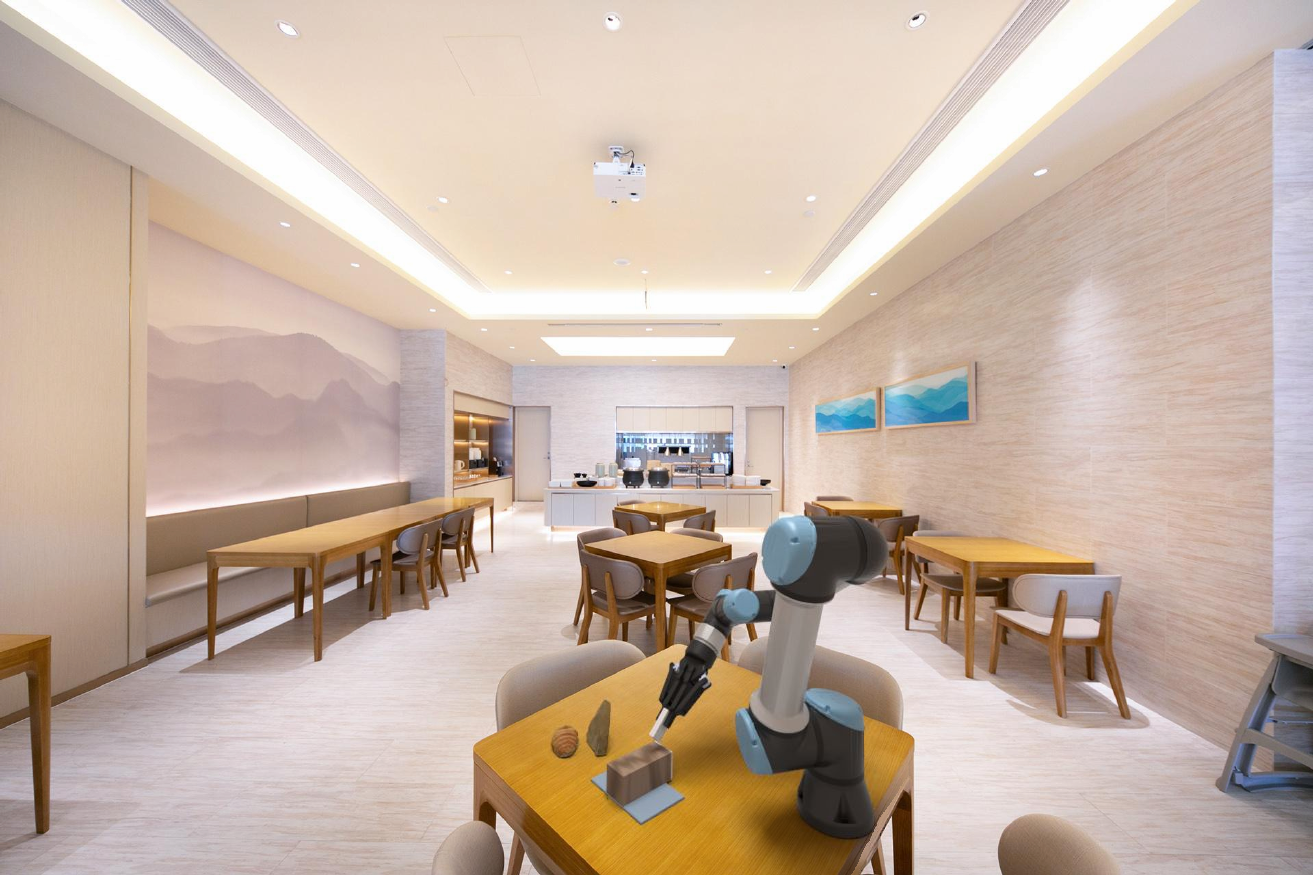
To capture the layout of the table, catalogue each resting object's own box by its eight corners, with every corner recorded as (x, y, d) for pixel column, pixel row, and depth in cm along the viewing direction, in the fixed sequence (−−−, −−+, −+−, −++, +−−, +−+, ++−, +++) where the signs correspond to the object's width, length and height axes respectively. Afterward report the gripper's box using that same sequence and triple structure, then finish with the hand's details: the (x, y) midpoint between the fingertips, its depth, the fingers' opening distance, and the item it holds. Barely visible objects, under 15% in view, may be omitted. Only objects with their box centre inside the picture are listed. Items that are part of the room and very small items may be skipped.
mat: (684, 798, 106) (684, 796, 106) (641, 824, 98) (641, 822, 98) (632, 759, 119) (632, 758, 119) (590, 780, 111) (590, 778, 111)
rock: (615, 750, 119) (626, 723, 129) (594, 721, 120) (607, 696, 130) (582, 770, 122) (596, 743, 131) (562, 741, 122) (577, 716, 132)
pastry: (579, 757, 120) (580, 741, 121) (551, 761, 119) (551, 745, 119) (577, 736, 130) (577, 722, 130) (551, 740, 128) (551, 724, 128)
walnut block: (672, 751, 112) (623, 776, 103) (672, 778, 112) (623, 806, 102) (655, 740, 116) (606, 763, 107) (655, 766, 116) (606, 791, 107)
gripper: (731, 662, 121) (682, 759, 109) (693, 647, 131) (644, 734, 119) (717, 645, 118) (664, 743, 106) (679, 631, 128) (627, 719, 116)
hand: (654, 738), depth 112 cm, fingers closed
